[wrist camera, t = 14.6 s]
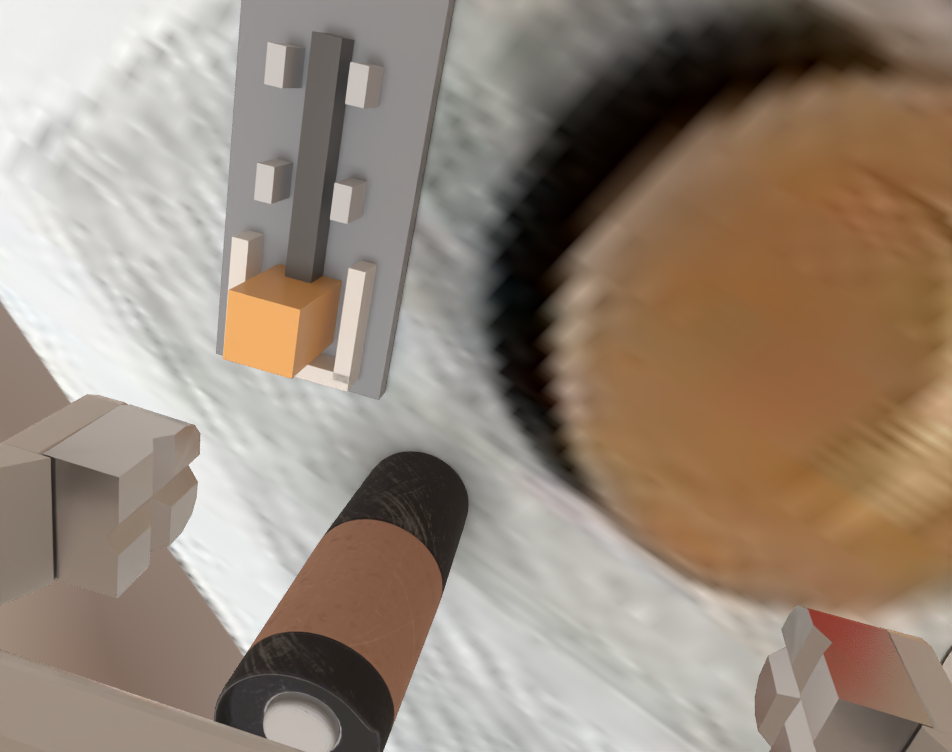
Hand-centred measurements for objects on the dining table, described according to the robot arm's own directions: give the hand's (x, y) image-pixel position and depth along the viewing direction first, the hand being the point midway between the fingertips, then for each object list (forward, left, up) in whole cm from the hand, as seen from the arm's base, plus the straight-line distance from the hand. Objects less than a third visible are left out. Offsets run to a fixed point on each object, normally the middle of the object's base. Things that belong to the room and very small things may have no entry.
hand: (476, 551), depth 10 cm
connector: (+15, +3, -32) cm, 35 cm away
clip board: (+15, +1, -33) cm, 36 cm away
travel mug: (+6, +22, -33) cm, 40 cm away
